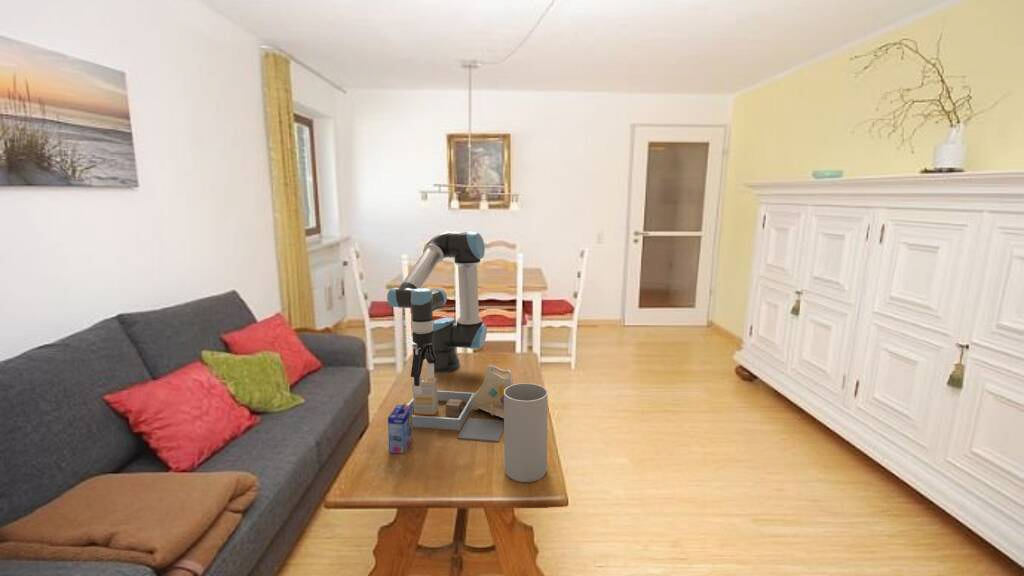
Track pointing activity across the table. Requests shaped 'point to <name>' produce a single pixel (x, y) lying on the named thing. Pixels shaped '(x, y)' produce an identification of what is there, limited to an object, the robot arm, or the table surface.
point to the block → (454, 408)
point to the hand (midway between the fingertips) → (424, 386)
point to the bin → (442, 421)
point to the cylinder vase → (525, 432)
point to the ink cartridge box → (400, 428)
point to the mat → (482, 430)
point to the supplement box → (426, 398)
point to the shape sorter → (492, 391)
